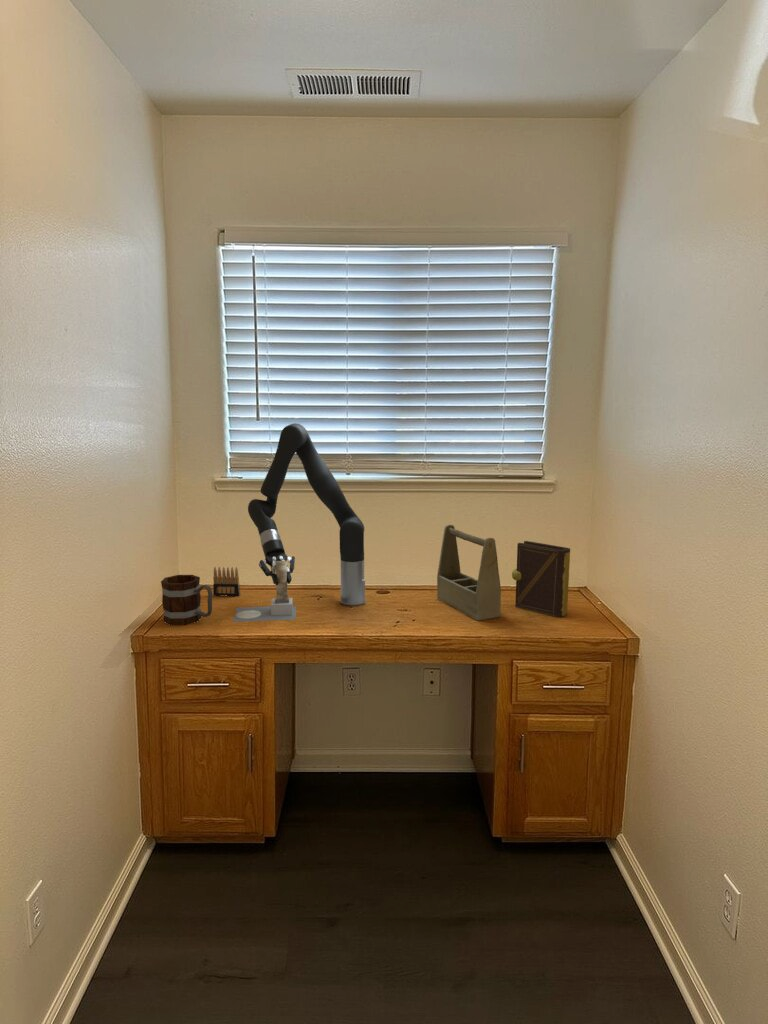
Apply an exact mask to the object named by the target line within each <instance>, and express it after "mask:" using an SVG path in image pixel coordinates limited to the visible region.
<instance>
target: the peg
mask: <svg viewBox="0 0 768 1024" xmlns="http://www.w3.org/2000/svg"><path fill="white" fill-rule="evenodd" d="M287 566H288V564H287V561H276V562H275V567H276V570H275V574H276V575H277V578H278V581H279V583H278V585H275V586H276V587H275V588H276V598H277V600H278V601H285V600H287V599H288V598H289V596H288V593H289V592H288V583H287Z"/></svg>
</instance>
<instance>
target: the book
mask: <svg viewBox="0 0 768 1024" xmlns="http://www.w3.org/2000/svg"><path fill="white" fill-rule="evenodd" d="M516 548H517V551H516V568H514V569H513V570H512V572H511V576H512V577H511V578H512V579H513V580H514V581H515V604H514V607H515V608H518V609H522V610H526V611H529V612H533V613H538V614H542V615H544V616H550V617H554V618H560V619H562V618H565V617H566V616H568V615H567V614H568V605H569V604H568V603H569V583H570V582H569V580H570V563H571V560H570V559H571V548H570V547H566V546H560V545H559V546H558V545H552V544H548V543H542V542H535V541H529V540H524V541H523V542H518V543H517V547H516Z"/></svg>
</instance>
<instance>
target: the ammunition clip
mask: <svg viewBox="0 0 768 1024" xmlns="http://www.w3.org/2000/svg"><path fill="white" fill-rule="evenodd" d="M212 579H213V586H212V587H213V588H212V589H213V590H212V596H213V595H227V596H226V597H235V596H239V595H240V596H241V587H240V577H239V569H238V567H235V569H234V567H231V568H229V566H227V568H225V566H223V567H222V570H221V567H220V566H218V569H217V568H216V566H214V568H213V578H212ZM240 596H239V597H240Z"/></svg>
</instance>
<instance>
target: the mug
mask: <svg viewBox="0 0 768 1024" xmlns="http://www.w3.org/2000/svg"><path fill="white" fill-rule="evenodd" d="M200 581H201V578H200V576H198V575H195V574H176V575H171V576H166V577H164V578H163V579H162V580H161V581H160V584H161V589H162V590H161V592H162V596H161V597H162V601H161V602H162V603H161V604H162V609H163V611H162V612H163V617H162V618H163V620H162V621H164V622H166V623H168V624H167V625H169V624H170V625H169V626H187V624H188V625H192V624H195V623H198V622H200V620H201V619H202V618H206V617H209V616H210V615H211V614H212V611H213V590H212V587H211V586H210V585H208V584H203V585H201V586H200ZM203 589H205V590H206V591H207V613H205V612H204V611H201V600H202V599H201V598H202V595H201V591H202V590H203ZM201 616H202V617H201ZM200 618H201V619H200ZM199 619H200V620H199ZM197 621H198V622H197ZM164 622H163V623H164ZM194 622H195V623H194ZM166 623H165V624H166ZM191 623H192V624H191Z"/></svg>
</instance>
